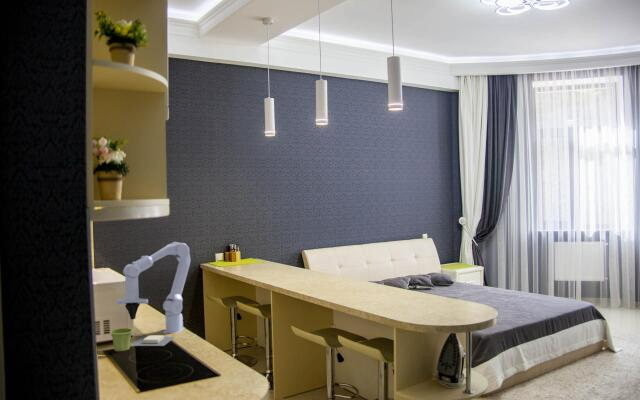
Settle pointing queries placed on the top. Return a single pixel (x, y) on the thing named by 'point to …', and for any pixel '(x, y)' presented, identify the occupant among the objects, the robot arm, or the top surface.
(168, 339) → the mat
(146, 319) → the top surface
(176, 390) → the top surface
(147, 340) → the tile
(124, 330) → the plant pot
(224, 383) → the top surface
